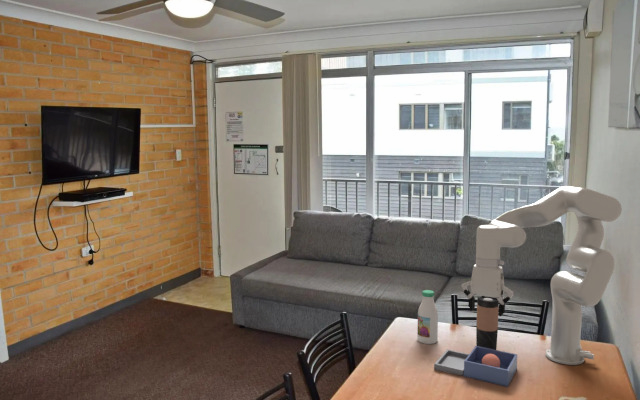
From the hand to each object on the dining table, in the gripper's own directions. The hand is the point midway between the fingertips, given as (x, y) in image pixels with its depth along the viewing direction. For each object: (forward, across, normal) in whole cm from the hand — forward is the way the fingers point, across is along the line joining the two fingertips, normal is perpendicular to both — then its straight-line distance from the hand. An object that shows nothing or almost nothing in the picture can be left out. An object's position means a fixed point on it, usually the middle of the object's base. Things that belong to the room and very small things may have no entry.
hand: (486, 312), depth 173 cm
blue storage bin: (+21, -2, -1) cm, 21 cm away
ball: (+18, -2, -1) cm, 18 cm away
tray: (+21, +10, 0) cm, 24 cm away
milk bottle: (+22, +27, -14) cm, 37 cm away
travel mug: (+22, +5, -19) cm, 29 cm away
